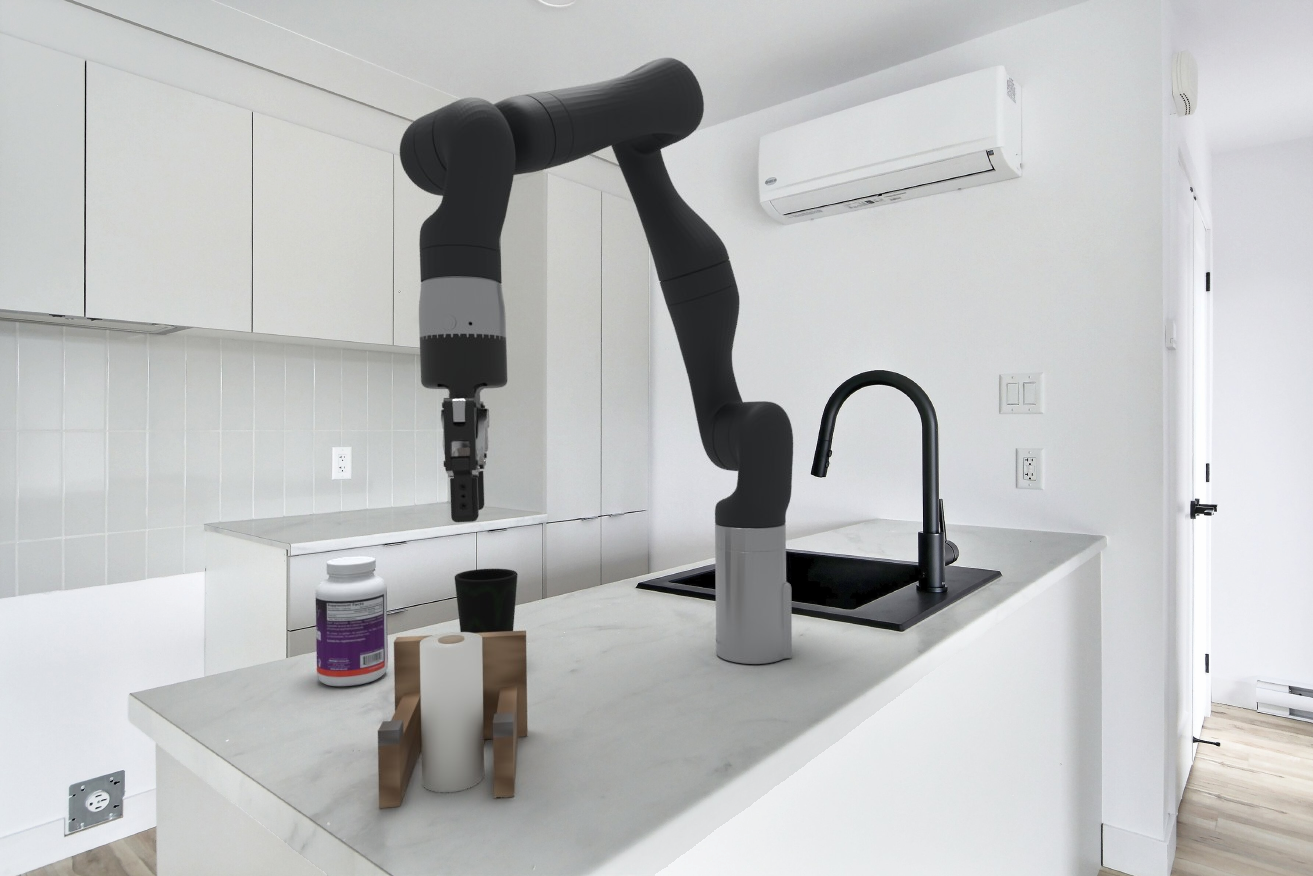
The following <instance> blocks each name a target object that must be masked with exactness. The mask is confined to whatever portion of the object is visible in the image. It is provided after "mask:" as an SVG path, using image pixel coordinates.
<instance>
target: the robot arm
mask: <svg viewBox="0 0 1313 876" xmlns="http://www.w3.org/2000/svg"><path fill="white" fill-rule="evenodd" d="M704 102H705V101H704V94H703V91H702V89H701V85H700V82H699V81H698V79H697V77H696V75H695V73H694V72H693V70H692V69H690V67H688V65H687V64H685V63H684V62H683V61H681V60H679V59H676V58H673V57H662V58H658V59H654V60H651V61H649V62H646V63H645V64H643V65H641V66H639V67H638V68H634V69H633V70H632V71H630V72H628V73H626V74H624V75H621V76H619V77H615V78H611V79H607V80H603V81H598V82H594V83H589V84H588V83H587V84H582V85H577V86H571V87H566V88H559V89H553V90H545V91H538V92H531V93H525V94H519V95H515V96H511V97H507V98H504V99H502V100H499V101H498V102H495V103H492V102H491V101H489V100H486V99H484V98H482V97H481V98H480V97H473V96H471V97H464V98H460V99H458V100H455V101H452V102H451V103H449V104H447V105H445V106H442V107H440V108H438V109H435V110H434V111H431V112H429V113H427V114H424V115H423V116H420V117H418V118H417V119H415V120H414V121H413V122H411V123H410V125H408V127H406V129H405V131H404V133H403V134H402V137H401V139H400V142H399V143H400V144H399V158H400V163H401V166H402V168H403V171H404V173H405V174H406V175H407V177H408V178H409V179H410V181H411V182H412V183H413V184H414V185H415V186H417V188H419V189H420V190H421V191H424V192H426V193H429V194H431V195H434V196H441V197H442V198H441V203H440V204H439V206H438V207H437V209H436V210H435V211H434V212H433V213H432V214H431V215H430V216H429V217H427V218H426V219H425V220H424V222H423V223H422V224H421V227H420V229H419V230H420V231H419V246H418V247H419V266H420V267H419V269H420V270H419V271H420V291H419V293H420V294H419V300H418V326H419V327H418V328H419V329H418V330H419V333H418V334H419V358H420V359H419V360H420V361H419V363H420V382H421V385H422V387H424V388H425V389H430V390H431V389H432V390H448V397H444V398H443V402H441V408H442V409H441V410H440V421H441V427H442V451H443V455H444V460H443V467H444V469H445V473H446V474H447V478H449V484H450V485H449V486H450V487H449V488H450V517H451V520H452V521H453V522H454V523H471V522H472V523H473V522H475V521H477V520H478V519H479V515H480V514H479V511H480V510H483V508H484V507H485V482H484V481H485V480H484V477H485V476H484V470H485V469H486V468H485V466H487V462H486V461H487V460H486V459H487V458H488V453H487V452H488V451H489V430H488V429H489V428H490V408H487V407H486V405H485V404H484V401H481V392H482V390H484V389H498V388H503V387H505V386H506V385H507V383H508V354H507V322H506V320H507V319H506V306H505V300H504V299H505V298H504V293H503V287H502V286H503V285H502V281H503V280H502V253H501V235H502V231H503V228H504V224H505V220H506V217H507V211H508V205H509V201H510V197H511V193H512V187H513V182H514V177H515V176H517V175H522V174H531V173H536V172H539V171H544V170H548V169H551V168H552V169H553V168H555V167H558V166H561V165H565V164H568V163H572V162H574V161H577V160H579V159H582V158H585V157H587V156H590V155H592V154H595V153H597V152H599V151H601V150H603V149H606V148H609V147H611V149H612V150H613V153H614V156H615V159H616V161H617V164H618V166H619V168H620V171H621V173H622V176H623V178H624V180H625V183H626V185H627V187H628V190H629V192H630V195H631V197H632V199H633V202H634V205H635V208H636V210H637V214H638V217H639V219H640V223H641V226H642V228H643V231H644V234H645V237H646V241H647V244H648V246H649V249H650V250H649V251H650V253H651V256H652V259H653V263H654V267H655V270H656V274H657V278H658V281H659V286H660V288H661V292H662V296H663V298H664V301H665V305H666V307H667V308H666V309H667V310H668V313H669V317H670V319H671V322H672V325H673V328H674V329H673V330H674V332H675V335H676V339H677V342H678V346H679V349H680V353H681V357H682V360H683V363H684V367H685V371H686V374H687V377H688V381H689V387H690V390H691V396H692V402H693V406H694V411H695V416H696V421H697V427H698V431H699V436H700V439H701V444H702V446H703V450H704V452H705V454H706V456H707V457H708V459H709V461H710V462H711V463H712V464H713V465H715V466H716V467H717V468H719V469H721V470H724V471H730V472H731V471H732V472H737V482H736V488H735V489H734V491H733V492H732V493H731V494H730V495H729V496H727V497H725V498H723V499H720V500H719V501H718V502H716V505H715V508H714V523H715V524H714V527H715V528H714V539H715V540H714V541H715V543H714V544H715V546H714V547H715V548H714V549H715V550H714V551H715V556H714V557H715V647H716V648H715V651H716V655H717V656H718V657H719V658H721V659H723V660H725V661H729V662H732V663H733V662H734V663H737V664H738V663H739V664H748V665H749V664H751V665H760V664H761V665H762V664H769V663H770V664H771V663H776V662H779V661H781V660H784V659H792V658H793V655H792V654H793V652H792V651H793V647H792V646H793V644H792V642H793V640H792V639H793V637H792V633H793V632H792V626H793V625H792V624H793V623H792V620H793V619H792V617H793V616H792V586H791V584H790V583H789V582H788V581H787V549H786V548H787V547H786V542H787V541H786V540H787V538H786V537H787V536H786V535H787V534H786V533H787V531H786V530H787V529H786V522H787V521H786V518H787V517H786V516H787V511H788V508H789V505H790V501H791V497H792V487H793V486H792V484H793V483H792V482H793V463H794V433H793V427H792V423H791V420H790V418H789V415H788V413H787V412H786V411H785V409H784V408H783V407H782V406H780V405H779V404H777V403H776V402H773V401H760V400H759V401H743V399H742V397H741V393H740V391H739V387H738V385H737V384H738V383H737V381H736V376H735V372H734V366H733V348H734V341H735V335H736V332H737V326H738V320H739V315H740V295H739V294H740V293H739V289H738V284H737V280H736V277H735V274H734V270H733V267H732V262H731V261H730V256H729V252H728V250H727V247H726V245H725V244H724V242H723V240H722V239H721V237H720V236H719V235H718V234H717V233H716V231H715V230H714V229H713V228H712V227H711V226H710V224H708V223H707V222H706V221H705V220H704V219H703V218H702V217H701V216H700V215H699V214H698V213H697V211H695V210H694V209H693V208H691V206H689V204H687V202H686V201H685V200H684V199H683V198H682V196H681V195H680V193H679V192H678V191H677V189H676V187H675V186H674V184H673V181H672V180H671V177H670V174H669V172H668V170H667V166H666V165H665V161H664V158H663V154H662V151H661V150H662V149H665V148H667V147H669V146H671V145H673V144H676V143H678V142H680V141H683V140H684V139H687V138H688V137H689V136H691V134H693V133H694V132H695V131H697V129H698V127H699V126H700V124H701V122H702V120H703V117H704V110H705V109H704V108H705V103H704Z"/></svg>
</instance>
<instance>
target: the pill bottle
mask: <svg viewBox="0 0 1313 876" xmlns="http://www.w3.org/2000/svg"><path fill="white" fill-rule="evenodd" d="M376 561H377V560H376V558H375V557H372V556H361V555H360V556H359V555H358V556H345V557H339V558H333V559H329V560H328V561H326V574H327V576H328V577H327V579H324V580H323V581H322V582H320V583H319V584H318V586H317V587H316V589H315V635H316V636H315V637H316V638H315V639H316V640H315V644H316V648H315V649H316V675H317V676H316V677H317V678H318V680H319V681H320V682H321V683H323V684H324V685H327V686H330V687H350V686H351V687H352V686H359V685H365V684H368V683H370V682H374V681H376V680H378V679H380V678H381V677H382V676H383V675H385V673H386V672H387V670H388V667H389V652H388V651H389V646H388V645H389V644H388V643H389V642H388V589H387V588H388V587H387V584H386V581H385V580H384V579H383V578H382V577H380V576H378V575H376V574H375V573H374V572H376V567H377V565H376V564H377V563H376Z"/></svg>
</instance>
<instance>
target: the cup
mask: <svg viewBox="0 0 1313 876" xmlns="http://www.w3.org/2000/svg"><path fill="white" fill-rule="evenodd" d="M454 585H455V593H456V594H455V596H456V602H457V612H458V613H457V614H458V621H459V632H470V633H486V632H505V631H514V627H515V615H516V614H515V611H516V598H517V585H518V572H517V571H515V570H513V569H508V568H481V569H480V568H479V569H471V570H466V571H462V572H459V573H456V574H455V575H454Z"/></svg>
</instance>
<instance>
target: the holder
mask: <svg viewBox="0 0 1313 876" xmlns="http://www.w3.org/2000/svg"><path fill="white" fill-rule="evenodd" d="M475 634H478V635H480V636H482V664H483V732H484V740H492V741H493V742H492V743H493V744H492V745H493V748H492V749H493V752H492V753H493V759H492V760H493V761H492V762H493V799H496V798H495V797H501V798H502V797H505V798H512V797H513V798H514V797H515V785H516V774H517V773H516V770H517V757H518V755H517V754H518V742H519V741H518V740H519V738H520V737H523V738H524V737H528V683H527V682H528V679H527V678H528V675H527V674H528V673H527V672H528V671H527V664H528V663H527V662H528V659H527V630H513V631H505V632H486V633H475ZM433 635H434V634H433ZM433 635H431V634H430V635H429V634H428V635H414V636H413V635H412V636H411V635H410V636H396V638H395V639H394V641H393V668H394V671H393V673H394V674H393V675H394V679H393V680H394V681H393V682H394V713H393V715H392V717H391V720H386V721H382V722H381V725H380V726H379V728H378V730H377V759H378V760H377V761H378V762H377V763H378V764H377V765H378V766H377V767H378V773H377V774H378V809H385V808H396V807H397V808H398V807H401V804H402V802H403V799H404V797H405V793H406V791H407V788H408V786H409V782H410V780H411V778H412V774H413V771H414V769H415V767H416V764H417V761H418V758H419V756H420V754H421V753H420V752H421V689H420V641H421V640H423V639H424V638H427V637H429V636H433ZM501 798H500V799H501ZM502 799H503V798H502Z"/></svg>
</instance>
